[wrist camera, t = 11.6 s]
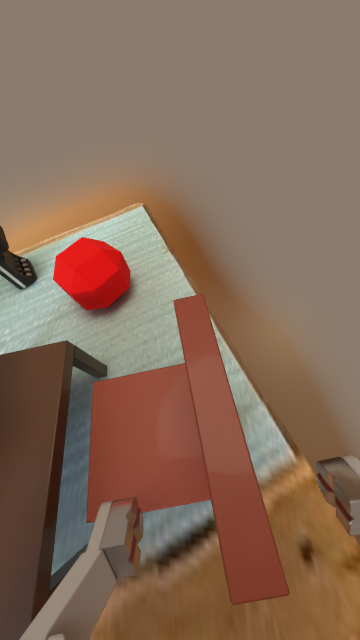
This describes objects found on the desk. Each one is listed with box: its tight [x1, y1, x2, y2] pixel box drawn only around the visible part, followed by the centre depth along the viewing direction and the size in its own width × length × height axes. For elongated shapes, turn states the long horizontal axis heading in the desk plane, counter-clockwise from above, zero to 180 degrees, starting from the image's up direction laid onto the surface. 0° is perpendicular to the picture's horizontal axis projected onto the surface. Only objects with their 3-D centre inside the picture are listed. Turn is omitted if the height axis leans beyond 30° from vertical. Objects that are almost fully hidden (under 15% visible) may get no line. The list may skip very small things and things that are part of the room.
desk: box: [0, 341, 107, 640], centre depth 17 cm, size 13×16×8 cm
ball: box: [53, 237, 130, 310], centre depth 27 cm, size 8×8×8 cm
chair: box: [86, 294, 289, 605], centre depth 13 cm, size 10×9×15 cm
